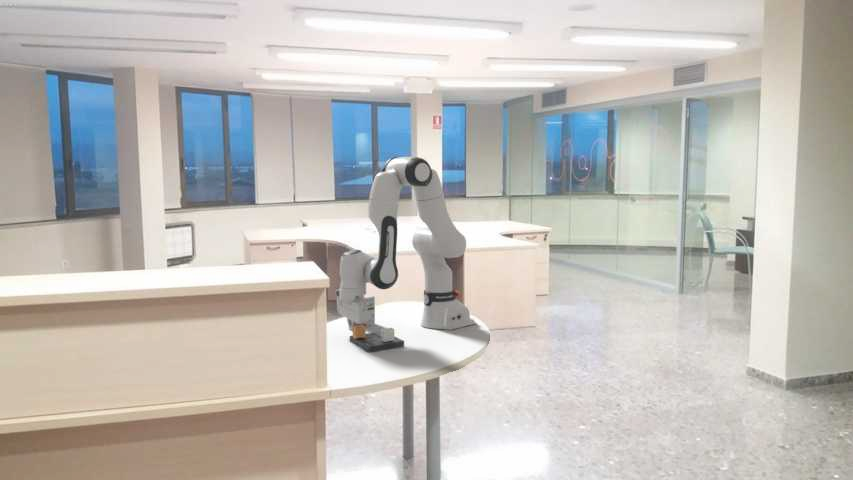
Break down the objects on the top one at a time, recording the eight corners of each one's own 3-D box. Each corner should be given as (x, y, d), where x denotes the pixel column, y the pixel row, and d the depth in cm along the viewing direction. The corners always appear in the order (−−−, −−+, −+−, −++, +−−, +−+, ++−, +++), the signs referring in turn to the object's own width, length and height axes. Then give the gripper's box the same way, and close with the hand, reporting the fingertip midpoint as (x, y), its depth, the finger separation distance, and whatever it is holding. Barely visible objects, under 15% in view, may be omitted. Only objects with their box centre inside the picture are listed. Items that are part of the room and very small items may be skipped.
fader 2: (391, 338, 234) (391, 327, 233) (394, 340, 231) (394, 329, 231) (381, 340, 231) (381, 328, 231) (384, 341, 229) (384, 330, 229)
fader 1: (362, 335, 238) (362, 324, 237) (365, 337, 235) (365, 326, 235) (352, 337, 236) (352, 325, 235) (355, 338, 233) (355, 327, 233)
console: (383, 336, 245) (383, 330, 245) (404, 346, 232) (404, 340, 231) (349, 341, 238) (349, 335, 238) (368, 352, 225) (368, 346, 224)
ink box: (356, 327, 258) (356, 298, 257) (351, 324, 263) (350, 296, 261) (375, 324, 263) (375, 295, 262) (369, 321, 267) (369, 293, 266)
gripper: (372, 298, 231) (372, 336, 233) (349, 288, 249) (349, 324, 250) (356, 300, 228) (356, 338, 230) (333, 290, 246) (334, 326, 247)
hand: (352, 330), depth 240 cm, fingers closed
